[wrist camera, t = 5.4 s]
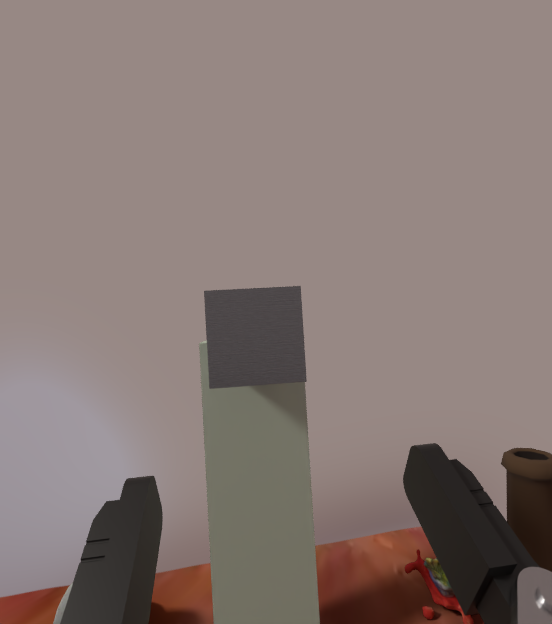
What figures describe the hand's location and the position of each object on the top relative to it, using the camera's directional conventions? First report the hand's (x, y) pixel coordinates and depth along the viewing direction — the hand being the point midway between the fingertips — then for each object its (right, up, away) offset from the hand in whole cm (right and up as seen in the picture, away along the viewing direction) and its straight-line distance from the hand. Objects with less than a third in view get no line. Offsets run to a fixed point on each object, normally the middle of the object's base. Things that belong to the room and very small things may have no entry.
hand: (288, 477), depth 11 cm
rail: (-2, +2, +16) cm, 16 cm away
